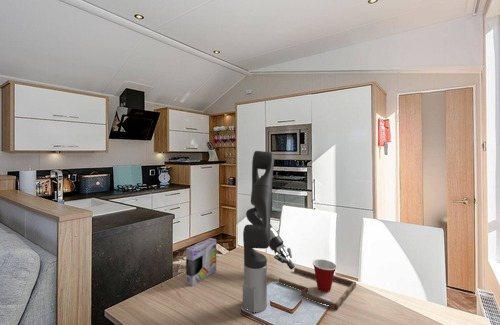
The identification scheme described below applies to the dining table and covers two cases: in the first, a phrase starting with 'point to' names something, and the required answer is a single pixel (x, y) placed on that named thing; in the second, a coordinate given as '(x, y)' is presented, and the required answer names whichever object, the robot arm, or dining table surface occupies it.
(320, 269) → the plastic cup
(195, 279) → the cake pan box
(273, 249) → the robot arm
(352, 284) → the T fence
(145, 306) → the dining table surface
